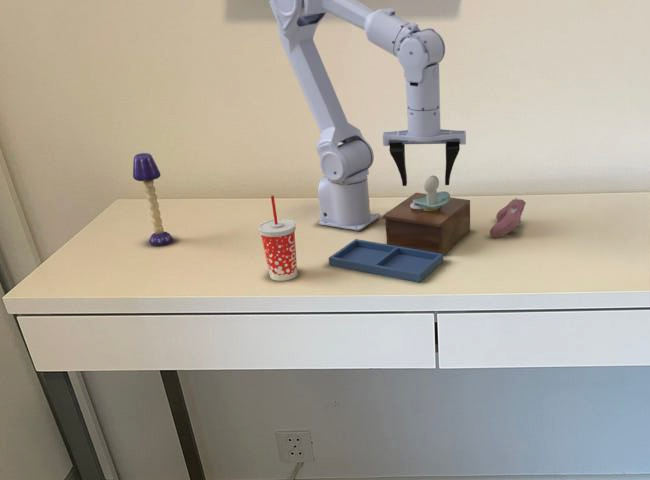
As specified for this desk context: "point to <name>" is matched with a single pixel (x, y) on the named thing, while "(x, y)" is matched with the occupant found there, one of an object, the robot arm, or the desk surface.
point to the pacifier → (431, 196)
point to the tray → (386, 260)
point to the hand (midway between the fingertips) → (426, 183)
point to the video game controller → (508, 218)
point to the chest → (429, 233)
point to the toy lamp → (151, 195)
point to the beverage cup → (279, 246)
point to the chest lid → (426, 217)
